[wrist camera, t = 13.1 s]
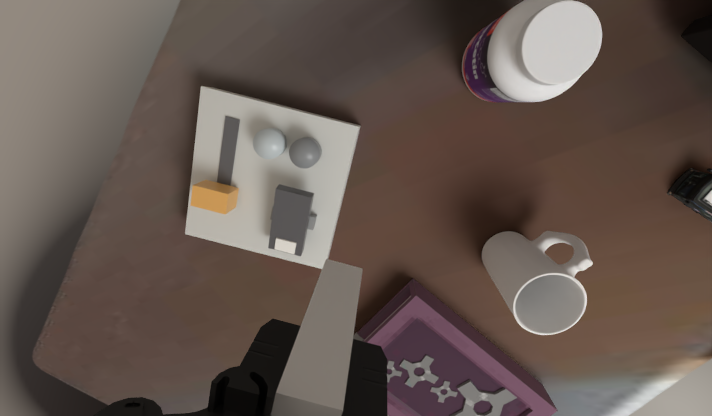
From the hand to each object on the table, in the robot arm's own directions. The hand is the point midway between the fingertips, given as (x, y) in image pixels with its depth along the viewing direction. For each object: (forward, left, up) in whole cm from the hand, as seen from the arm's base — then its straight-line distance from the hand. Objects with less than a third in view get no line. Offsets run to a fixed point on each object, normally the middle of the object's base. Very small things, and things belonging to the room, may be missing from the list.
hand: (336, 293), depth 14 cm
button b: (-1, -11, -27) cm, 29 cm away
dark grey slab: (+7, -7, -25) cm, 27 cm away
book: (+26, +18, -31) cm, 44 cm away
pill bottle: (-15, +11, -30) cm, 35 cm away
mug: (+5, +21, -30) cm, 37 cm away
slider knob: (+7, -16, -26) cm, 31 cm away
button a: (-1, -7, -27) cm, 27 cm away
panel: (+4, -11, -30) cm, 32 cm away
